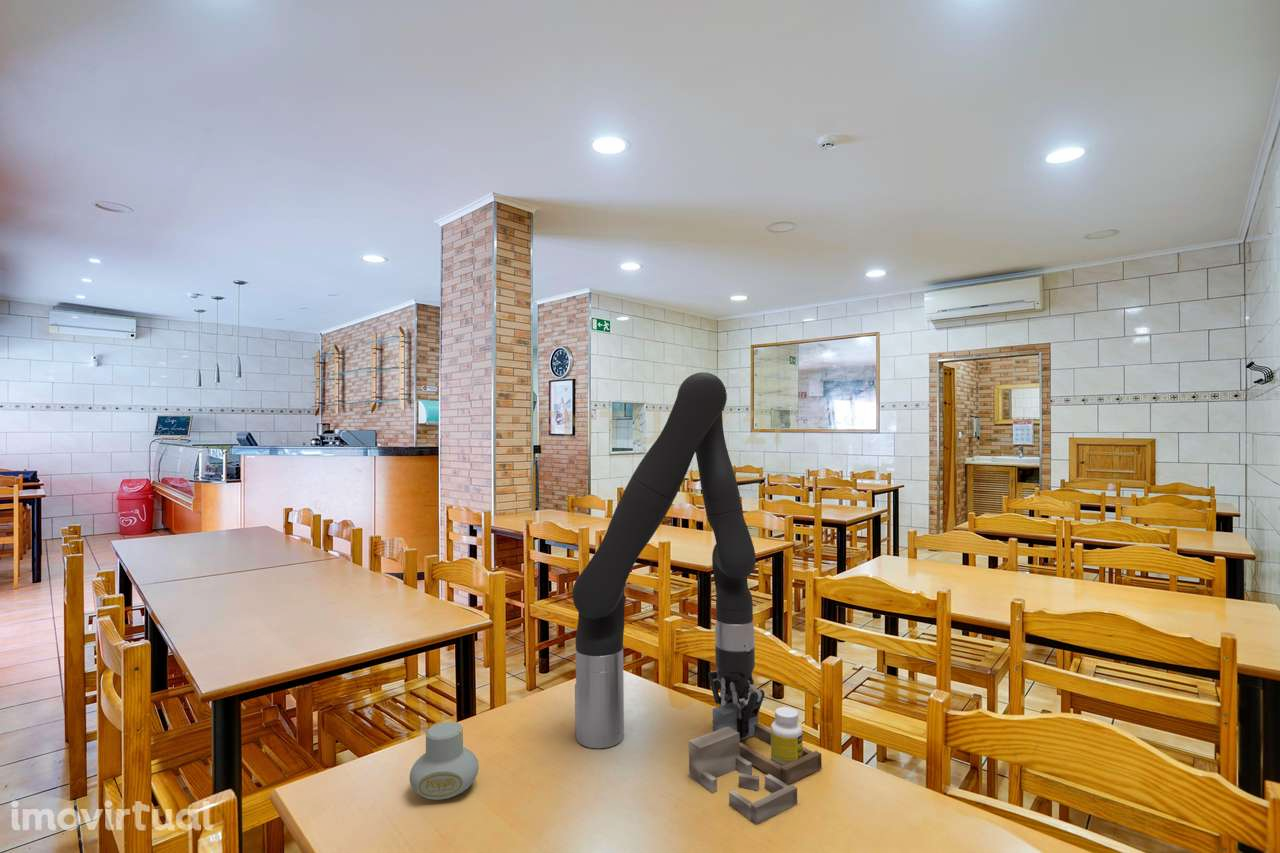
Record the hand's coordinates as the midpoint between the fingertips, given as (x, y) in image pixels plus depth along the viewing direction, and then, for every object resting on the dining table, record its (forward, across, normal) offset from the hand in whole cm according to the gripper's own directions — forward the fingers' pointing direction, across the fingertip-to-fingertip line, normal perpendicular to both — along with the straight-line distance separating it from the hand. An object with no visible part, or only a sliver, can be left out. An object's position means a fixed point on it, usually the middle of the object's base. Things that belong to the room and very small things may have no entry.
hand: (735, 732), depth 118 cm
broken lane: (+1, +13, -11) cm, 17 cm away
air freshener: (+1, -16, -51) cm, 53 cm away
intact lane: (+1, +8, 0) cm, 8 cm away
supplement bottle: (+1, +13, 0) cm, 13 cm away
